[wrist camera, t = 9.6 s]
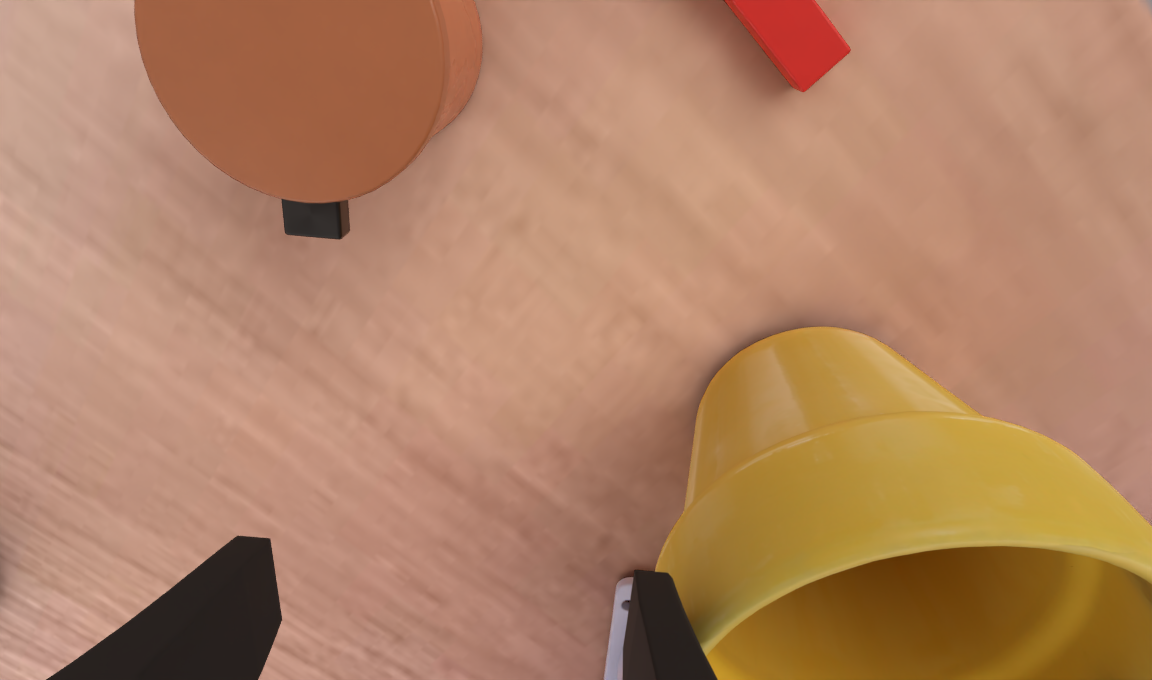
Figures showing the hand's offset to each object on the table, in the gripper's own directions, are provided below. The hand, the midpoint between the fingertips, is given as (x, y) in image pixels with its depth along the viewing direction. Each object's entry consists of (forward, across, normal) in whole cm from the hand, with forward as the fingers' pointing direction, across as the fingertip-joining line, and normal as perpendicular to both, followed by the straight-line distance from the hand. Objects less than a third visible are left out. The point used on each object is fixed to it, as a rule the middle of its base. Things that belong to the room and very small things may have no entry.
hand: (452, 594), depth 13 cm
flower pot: (+9, -9, +1) cm, 13 cm away
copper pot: (+10, +4, -9) cm, 13 cm away
